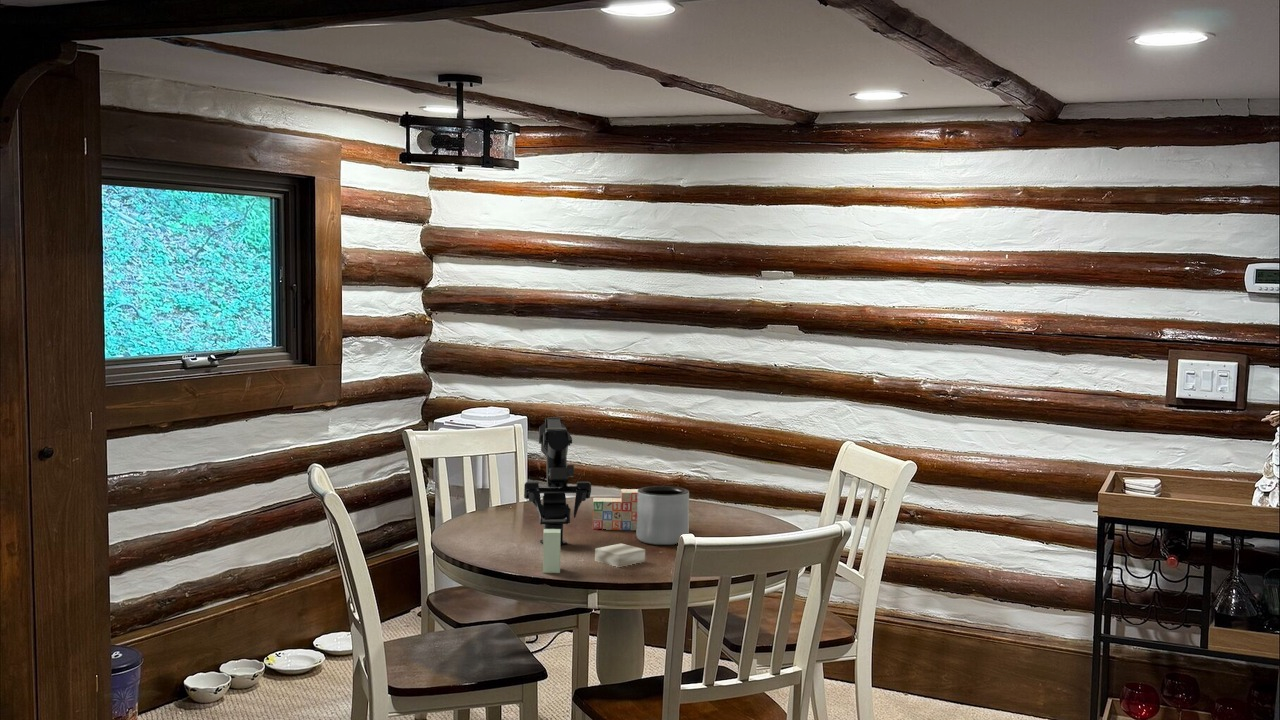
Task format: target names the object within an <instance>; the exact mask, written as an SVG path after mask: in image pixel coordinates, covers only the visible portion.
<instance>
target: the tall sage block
mask: <svg viewBox="0 0 1280 720" xmlns="http://www.w3.org/2000/svg"><path fill="white" fill-rule="evenodd" d="M542 535H543V536H542V540H543V543H542V573H543V574H560V573H561V545H560V537H561V529H544V528H543V533H542Z"/></svg>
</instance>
